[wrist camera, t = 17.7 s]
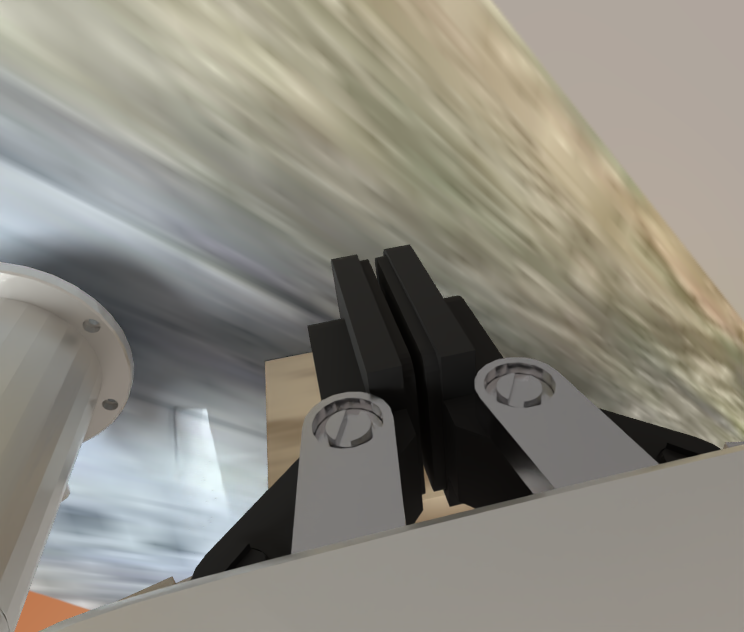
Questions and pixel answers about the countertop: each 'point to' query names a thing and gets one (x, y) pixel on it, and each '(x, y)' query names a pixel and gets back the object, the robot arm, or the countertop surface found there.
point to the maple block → (286, 416)
